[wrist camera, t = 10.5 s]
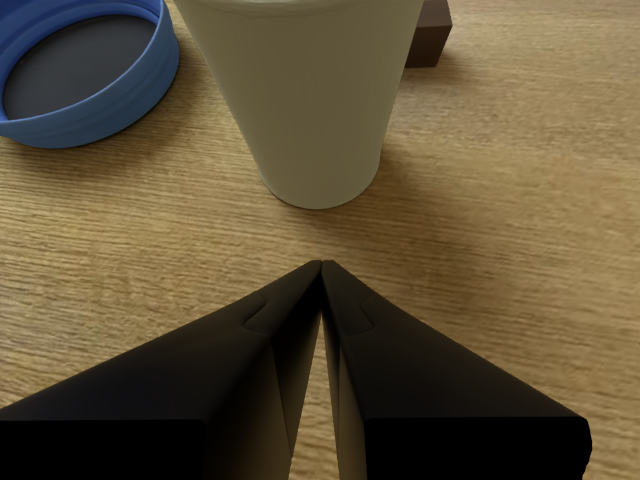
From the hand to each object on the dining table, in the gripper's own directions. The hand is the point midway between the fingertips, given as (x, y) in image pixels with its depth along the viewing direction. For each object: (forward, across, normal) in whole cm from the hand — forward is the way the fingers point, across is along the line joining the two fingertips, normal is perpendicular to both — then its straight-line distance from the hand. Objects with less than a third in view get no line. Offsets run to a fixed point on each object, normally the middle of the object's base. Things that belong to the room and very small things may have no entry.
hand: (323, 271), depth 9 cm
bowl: (+18, -22, +9) cm, 30 cm away
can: (+12, -1, +3) cm, 12 cm away
